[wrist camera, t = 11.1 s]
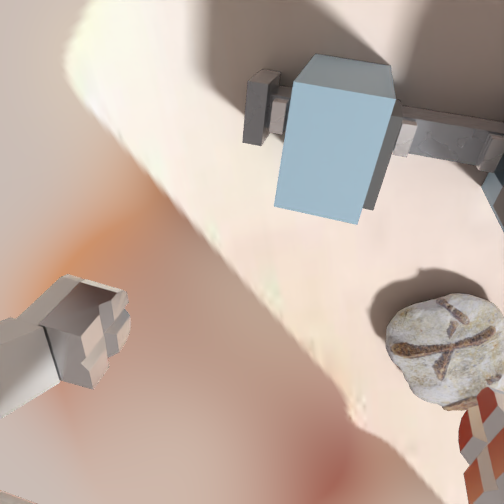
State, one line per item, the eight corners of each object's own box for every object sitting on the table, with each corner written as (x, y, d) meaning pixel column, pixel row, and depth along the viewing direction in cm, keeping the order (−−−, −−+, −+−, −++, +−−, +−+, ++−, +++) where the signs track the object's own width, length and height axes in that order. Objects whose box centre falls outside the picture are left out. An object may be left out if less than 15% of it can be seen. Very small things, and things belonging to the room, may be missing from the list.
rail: (670, 133, 22) (714, 157, 19) (628, 192, 24) (662, 221, 21) (262, 69, 25) (247, 81, 22) (256, 125, 27) (242, 142, 25)
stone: (366, 301, 34) (365, 328, 31) (484, 268, 29) (495, 297, 27) (418, 390, 38) (421, 421, 36) (527, 374, 34) (540, 408, 31)
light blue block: (401, 67, 23) (410, 101, 17) (370, 168, 27) (368, 227, 21) (315, 53, 24) (293, 81, 18) (297, 153, 28) (274, 206, 22)
